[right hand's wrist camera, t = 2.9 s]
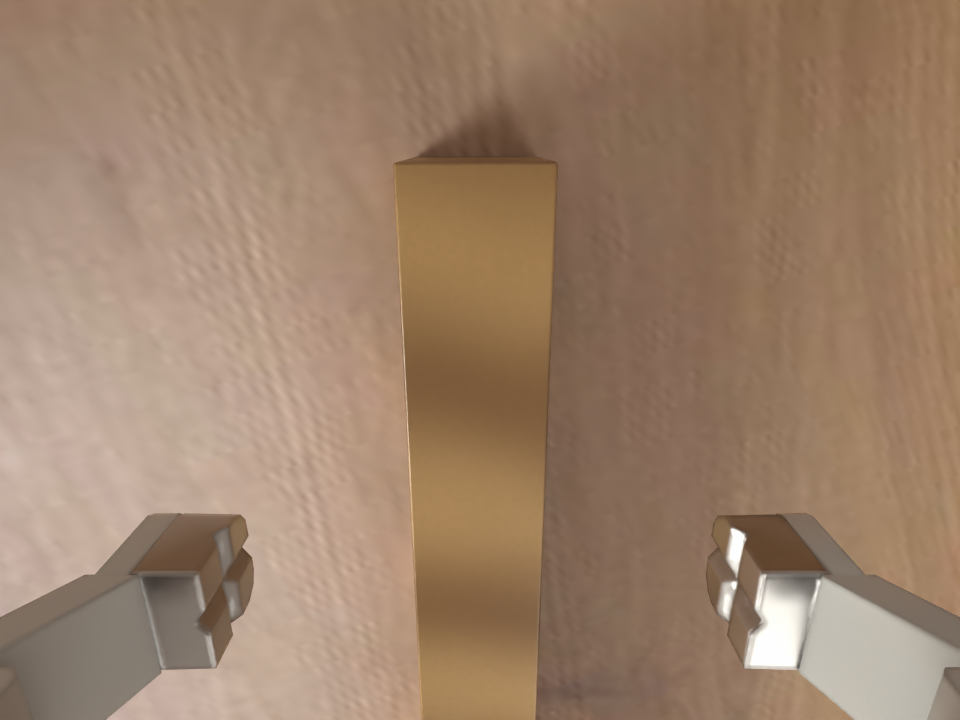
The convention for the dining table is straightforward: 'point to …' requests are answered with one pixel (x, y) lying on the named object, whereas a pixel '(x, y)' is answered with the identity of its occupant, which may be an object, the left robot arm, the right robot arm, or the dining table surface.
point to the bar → (476, 421)
